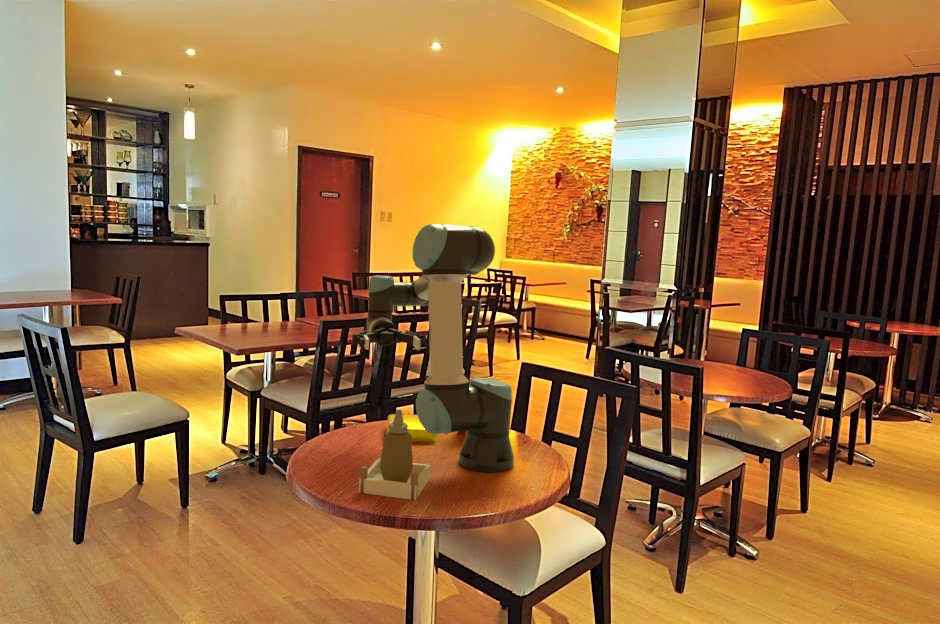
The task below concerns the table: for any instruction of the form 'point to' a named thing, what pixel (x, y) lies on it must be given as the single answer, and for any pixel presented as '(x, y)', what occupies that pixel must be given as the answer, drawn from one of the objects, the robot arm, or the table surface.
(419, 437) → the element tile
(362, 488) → the tray
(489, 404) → the robot arm
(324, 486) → the table surface
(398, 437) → the squeeze bottle
